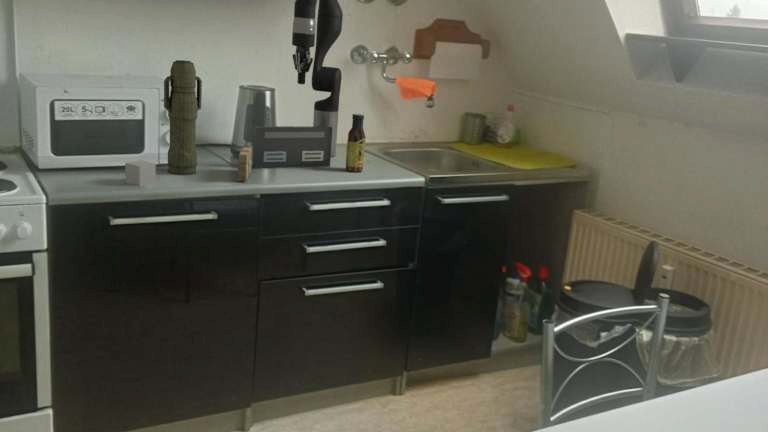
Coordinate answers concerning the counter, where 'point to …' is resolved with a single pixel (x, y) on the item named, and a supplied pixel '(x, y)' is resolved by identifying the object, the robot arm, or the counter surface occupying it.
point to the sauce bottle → (355, 145)
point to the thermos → (182, 116)
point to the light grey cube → (140, 172)
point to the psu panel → (291, 146)
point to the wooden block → (245, 163)
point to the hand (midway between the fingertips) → (301, 83)
